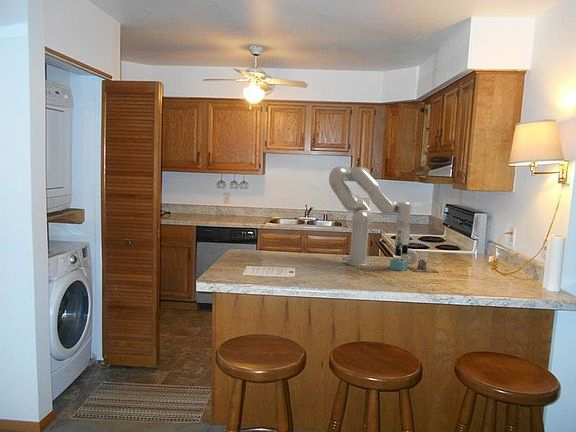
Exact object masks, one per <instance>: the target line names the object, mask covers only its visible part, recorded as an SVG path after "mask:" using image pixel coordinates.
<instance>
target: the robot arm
mask: <svg viewBox="0 0 576 432" xmlns="http://www.w3.org/2000/svg"><path fill="white" fill-rule="evenodd" d="M345 182H355V183H356V184H357V185H358V186H359V187H360V188H361V189H362V190H363V191H364V192H365V193H366V195H367V196H368V197H369V199H370V201H371V203H372V204H374V206H375V207H376V208H377V209H378V210H379V211H380V212H381V213H382V214H383V215H385V216H388V215H393V214H394V215H396V217H395V218H396V219H395V227H396V231H395V241H394V244H395V245H394V246H395V247H394V251H395V252H394V256H396V257H401V253H402V254H407V252H408V249H409V248H408V247H409V244H410V242H411V241H410V240H411V239H410V238H411V237H410V234H411V233H410V229H411V228H410V227H411V216H412V215H411V214H412V213H411V212H412V211H411V210H412V203H411V202H409V201H395V200H389V198H387V196H385V194H384V193H383V192H382V190H381V186H380V184H379V182H378V181H376V180H375V178H374V177H372V175H371V172H370V170H369V169H368V168H367V167H362V166H359V167H358V166H357V167H351V166H349V167H348V166H335V167H333V168H332V169H331V171H330V173H329V176H328V183H329V186H330V188H331V190H332V192H333V193H334V194H335V196H336V197H337V199H338V200H339V201H340V203H341V205H342V206H343V208H344V209H345V210H346V211H348V212H352V213H353V215H352V218H351V235H350V236H351V239H350V240H351V241H350V251H349V255H348V256H341V260H342V261H345V262H346V264H347V265H349V266H353V267H357V266H367V265H369V264H370V263H369V262H367V255H368V244H369V225H371V224H372V223H373V222H374V220H375V218H374V217H375V216H374V213H373V211H372V210H371V209H370V207H369V206H368V205H367V202H366V201H365V200H364V199H363V198H362V197H361V196H360V195H356V194H354V193H353V192H352V191H351V189H350V187H349V186H348V185H347V183H345Z"/></svg>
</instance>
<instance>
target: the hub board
mask: <svg viewBox="0 0 576 432" xmlns="http://www.w3.org/2000/svg"><path fill="white" fill-rule="evenodd" d="M407 270H409V271H412V272H414V273H427V274H428V273H434V274H435V273H437V274H439V271H438V270H436V269H433V268H432V267H429V266H427V261H426V260H425V259H424V258H419V259H417V266H410V265H409V266H408V265H407Z"/></svg>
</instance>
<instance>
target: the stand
mask: <svg viewBox="0 0 576 432" xmlns="http://www.w3.org/2000/svg"><path fill="white" fill-rule="evenodd" d="M397 261H401V260H397ZM388 269H389V270H391V271H395V272H399V271H398V270H393V269H390V267H388ZM407 271H408V269H407V270H404V271H403V272H407Z"/></svg>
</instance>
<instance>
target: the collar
mask: <svg viewBox="0 0 576 432" xmlns="http://www.w3.org/2000/svg"><path fill="white" fill-rule="evenodd" d="M397 260H401V258H400V259H399V258H393V259H390V261H389V268H390V269H389V270H391V269H393V270H392V271H395V270H398V271H397V272H405V271H404V270H407V271H408V268H407V266H408V264H407V262H408V261H407V260H401V261H397Z"/></svg>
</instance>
